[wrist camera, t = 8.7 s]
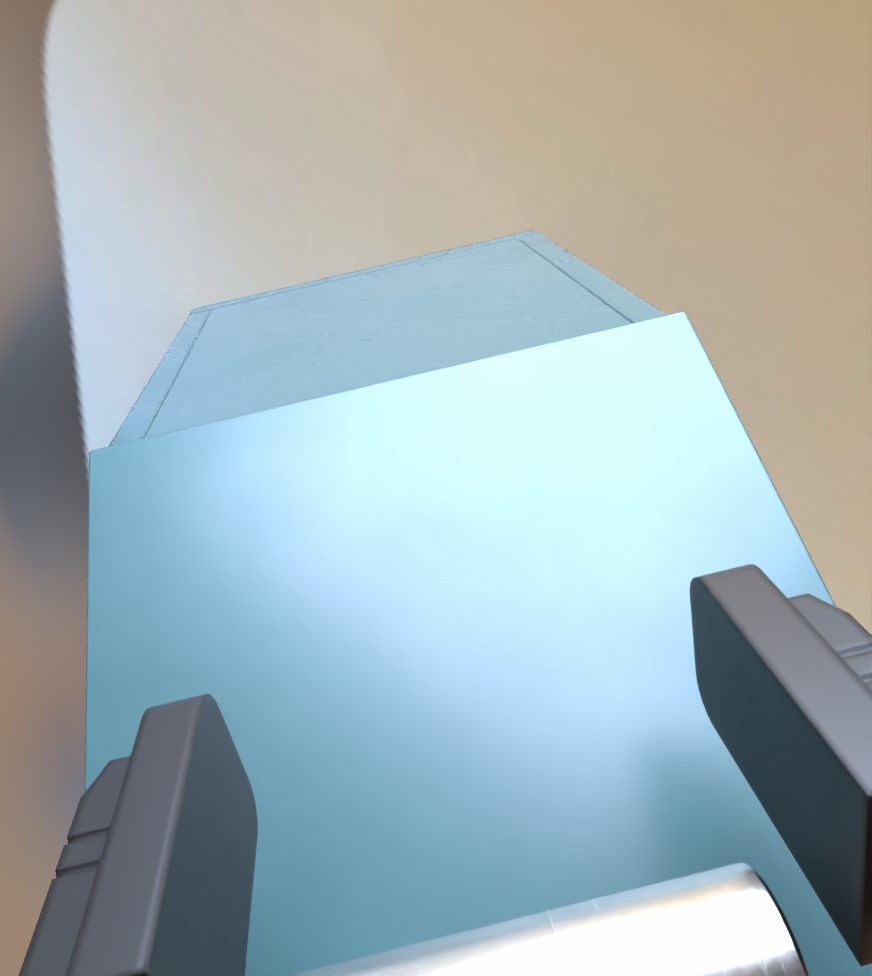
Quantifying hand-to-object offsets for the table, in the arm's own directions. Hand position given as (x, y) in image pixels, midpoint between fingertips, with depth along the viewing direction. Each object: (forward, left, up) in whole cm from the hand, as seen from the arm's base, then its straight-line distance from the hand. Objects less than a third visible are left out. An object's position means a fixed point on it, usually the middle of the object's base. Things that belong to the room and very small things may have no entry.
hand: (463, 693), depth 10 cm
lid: (0, -3, -3) cm, 4 cm away
